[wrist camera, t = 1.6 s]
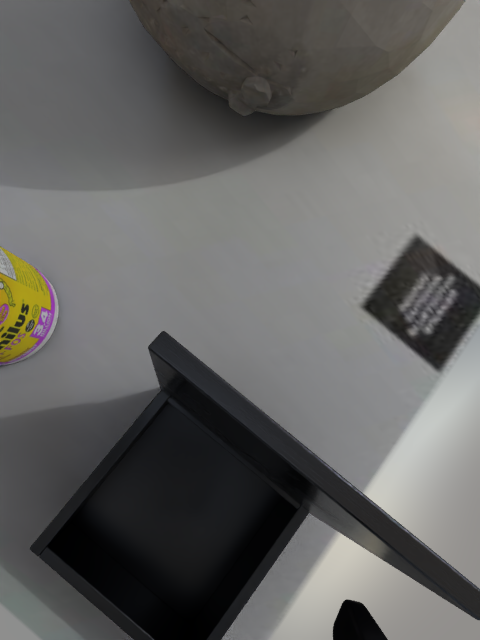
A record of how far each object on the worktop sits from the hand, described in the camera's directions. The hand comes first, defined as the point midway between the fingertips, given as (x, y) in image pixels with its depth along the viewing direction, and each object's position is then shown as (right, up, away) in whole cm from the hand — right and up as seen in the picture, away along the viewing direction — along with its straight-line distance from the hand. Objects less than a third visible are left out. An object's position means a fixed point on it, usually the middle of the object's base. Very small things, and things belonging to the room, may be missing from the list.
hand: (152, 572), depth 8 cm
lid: (+3, 0, +5) cm, 6 cm away
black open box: (-2, -5, +13) cm, 15 cm away
